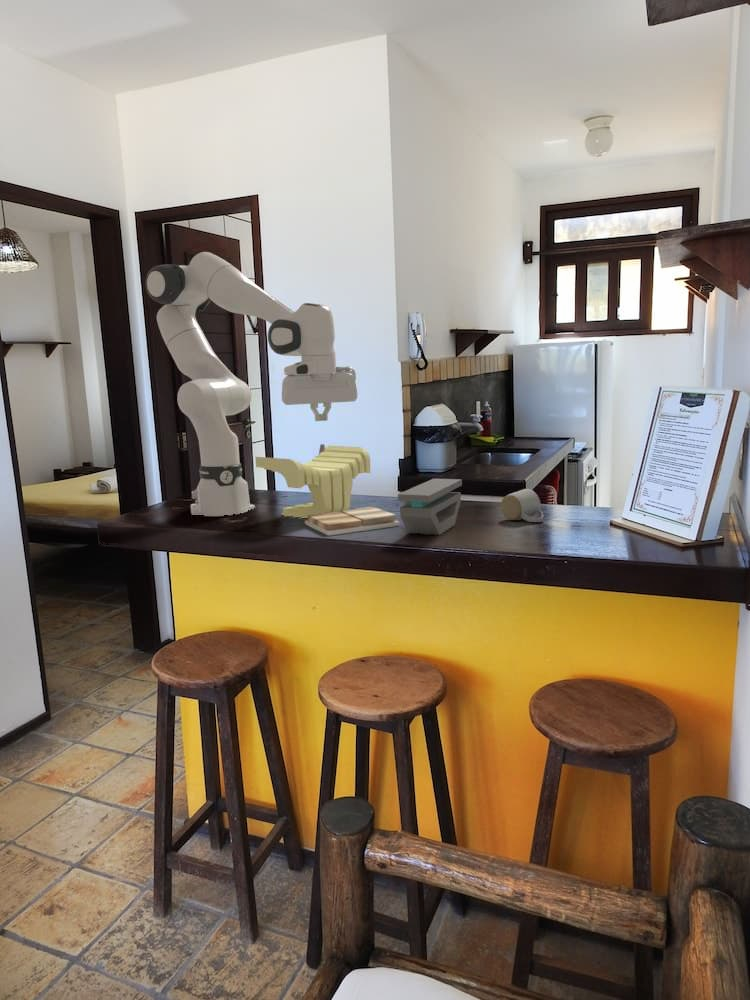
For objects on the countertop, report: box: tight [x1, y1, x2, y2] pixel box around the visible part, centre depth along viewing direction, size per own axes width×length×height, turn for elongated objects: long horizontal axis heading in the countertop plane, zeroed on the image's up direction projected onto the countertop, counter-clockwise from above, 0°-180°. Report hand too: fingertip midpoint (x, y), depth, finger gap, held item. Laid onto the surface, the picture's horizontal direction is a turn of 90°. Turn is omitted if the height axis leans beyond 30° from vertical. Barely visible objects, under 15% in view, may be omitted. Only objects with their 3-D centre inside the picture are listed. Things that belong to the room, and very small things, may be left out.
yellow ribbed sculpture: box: [254, 445, 371, 519], centre depth 200 cm, size 30×16×18 cm, turn 143°
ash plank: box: [342, 506, 397, 525], centre depth 188 cm, size 14×9×2 cm, turn 27°
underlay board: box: [304, 519, 401, 536], centre depth 186 cm, size 16×20×1 cm
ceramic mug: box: [500, 488, 544, 523], centre depth 185 cm, size 11×8×8 cm
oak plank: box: [307, 512, 361, 531], centre depth 184 cm, size 14×9×2 cm, turn 27°
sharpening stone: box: [397, 478, 463, 536], centre depth 178 cm, size 25×8×11 cm, turn 156°
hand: (321, 420), depth 187 cm, fingers closed
